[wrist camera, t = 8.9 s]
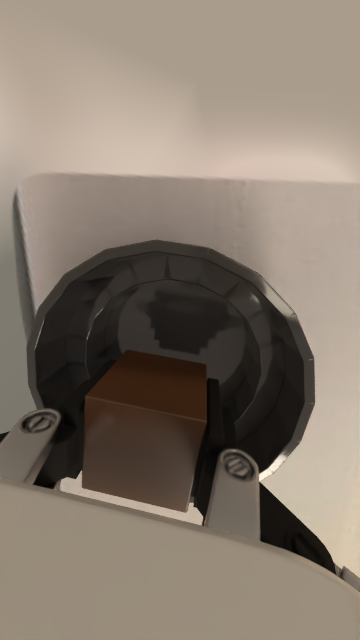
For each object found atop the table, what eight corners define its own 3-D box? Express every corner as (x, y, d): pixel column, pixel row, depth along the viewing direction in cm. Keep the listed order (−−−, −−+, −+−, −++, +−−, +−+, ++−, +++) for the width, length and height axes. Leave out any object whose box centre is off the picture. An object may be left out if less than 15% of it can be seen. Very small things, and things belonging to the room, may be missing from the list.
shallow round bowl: (88, 234, 16) (19, 219, 10) (302, 266, 15) (364, 271, 9) (82, 410, 20) (32, 471, 14) (249, 445, 19) (269, 527, 13)
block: (127, 348, 11) (84, 396, 7) (206, 363, 11) (207, 421, 7) (121, 415, 13) (80, 488, 9) (193, 430, 12) (186, 514, 8)
